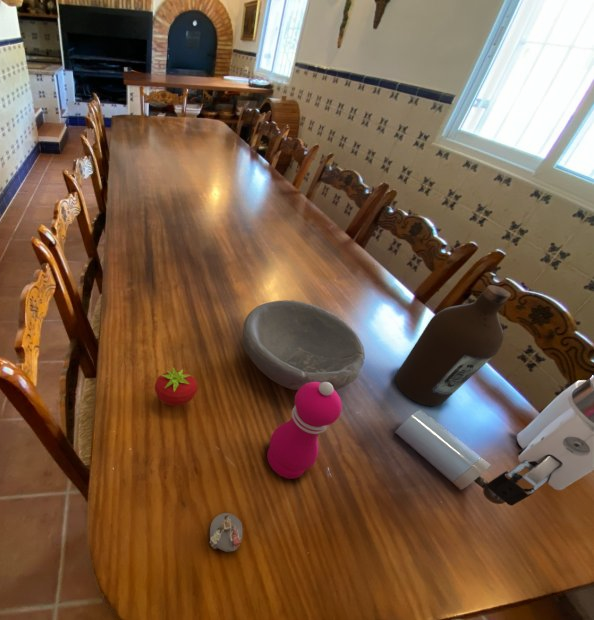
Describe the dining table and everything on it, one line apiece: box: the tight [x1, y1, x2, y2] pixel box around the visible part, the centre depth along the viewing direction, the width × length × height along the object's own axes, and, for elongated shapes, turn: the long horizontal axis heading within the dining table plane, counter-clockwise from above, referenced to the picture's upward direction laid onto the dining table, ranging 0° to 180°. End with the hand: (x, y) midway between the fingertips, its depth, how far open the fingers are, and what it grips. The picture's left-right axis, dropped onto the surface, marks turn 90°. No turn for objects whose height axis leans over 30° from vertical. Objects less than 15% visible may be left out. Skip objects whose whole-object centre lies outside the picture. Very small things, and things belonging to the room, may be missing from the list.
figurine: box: [209, 512, 243, 553], centre depth 48 cm, size 5×4×6 cm
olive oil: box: [394, 284, 512, 407], centre depth 65 cm, size 11×11×25 cm
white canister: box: [395, 409, 506, 505], centre depth 58 cm, size 6×6×16 cm
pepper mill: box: [266, 382, 343, 480], centre depth 53 cm, size 7×7×20 cm
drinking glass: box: [516, 379, 587, 450], centre depth 60 cm, size 7×7×15 cm
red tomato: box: [154, 366, 198, 407], centre depth 63 cm, size 6×8×10 cm
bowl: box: [242, 299, 366, 391], centre depth 72 cm, size 23×22×10 cm
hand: (514, 477), depth 52 cm, fingers open, 9 cm apart
